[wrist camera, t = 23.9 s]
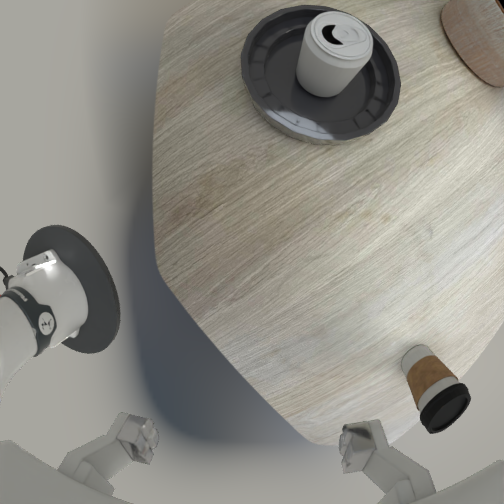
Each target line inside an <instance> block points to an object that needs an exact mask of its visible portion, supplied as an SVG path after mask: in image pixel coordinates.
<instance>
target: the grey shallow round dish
mask: <svg viewBox="0 0 504 504" xmlns="http://www.w3.org/2000/svg"><path fill="white" fill-rule="evenodd" d="M331 11H336V12H342V13H346V12H343V11H340V10H337V9H334V8H330V7H326V6H315V5H300V6H295V7H290V8H285V9H281V10H279V11H277V12H275V13H273V14H271V15H269V16H267V17H266V18H264V19H262V20H261V21H260V22H259V23H258V24H257V25H256V26H255V27H254V29H253V30H252V31H251V32H250V33H249V34H248V36H247V39H246V41H245V44H244V47H243V50H242V53H241V68H242V78H243V81H244V84H245V87H246V89H247V92H248V94H249V96H250V98H251V101H252V103H253V105H254V107H255V108H256V109H257V111H258V112H259V113H260V114H261V115H262V116H263V117H264V118H265V120H266V121H267V122H268V123H269V124H270V125H272V126H273V127H275V128H277V129H278V130H280V131H281V132H283V133H285V134H286V135H288V136H289V137H291V138H295V139H298V140H301V141H305V142H308V143H311V144H325V145H338V144H342V143H345V142H348V141H352V140H355V139H359V138H361V137H363V136H366V135H368V134H370V133H372V132H373V131H374V130H376V129H377V128H378V127H380V126H381V125H383V124H384V123H385V122H387V120H388V119H389V117H390V116H391V114H392V112H393V111H394V109H395V107H396V106H397V104H398V99H399V93H400V87H401V81H400V76H399V70H398V66H397V62H396V60H395V58H394V56H393V54H392V53H391V51H390V49H389V47H388V45H387V44H386V42H385V41H384V40H383V39H382V38H381V37H380V36H379V35H378V34H377V33H376V32H375V31H374V30H373V29H372V28H371V27H370V26H369V25H367V24H365V23H364V22H362V21H361V20H360V21H361V22H362V23H363V24H364V25H365V26H366V27H367V28H368V30H369V31H370V33H371V35H372V38H373V47H372V49H373V50H372V55H371V57H370V59H369V60H368V62H367V63H366V64H365V65H364V66H363V67H362V68H361V70H360V71H359V72H358V73H357V74H356V75H355V76H354V78H353V79H352V80H351V81H350V82H349V83H348V85H347V86H346V87H345V88H344V89H343V90H342V91H341V92H340V93H339V94H337V95H335V96H331V97H320V96H316V95H313V94H311V93H309V92H308V91H306V90H305V89H304V88H303V87H302V86H301V84H300V83H299V81H298V79H297V75H296V68H297V64H298V60H299V55H300V51H301V47H302V42H303V38H304V34H305V30H306V27H307V25H308V24H309V23H310V22H311V21H312V20H313V19H314V18H315V17H316V16H318V15H319V14H322V13H325V12H331ZM346 14H349V13H346ZM349 15H351V14H349ZM351 16H352V15H351ZM353 17H354V16H353ZM355 18H356V17H355ZM358 20H359V19H358Z"/></svg>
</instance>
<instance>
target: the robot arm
mask: <svg viewBox="0 0 504 504" xmlns="http://www.w3.org/2000/svg"><path fill="white" fill-rule="evenodd" d="M0 271H1V272H2V273H3V274H4V276H5V277H4V279H3V282H4V285H5V286H6V291H5V292H4V293H3V294H2V295H0V402H1V399H2V396H3V394H4V391H5V389H6V387H7V385H8V383H9V382H10V380H11V379H12V378H13V376H14V375H15V374H16V373H17V372H18V371H19V370H20V368H22V367H23V366H24V365H25V364H26V363H27V361H29V360H30V359H31V358H32V357H36V356H38V355H39V354H41V353H42V352H43V351H44V350H45V349H46V348H47V347H51V348H53V347H55V346H57V345H58V344H59V343H61V342H62V341H64V340H65V339H66V338H68V337H69V336H70V337H72V338H75V337H76V336H78V334H79V329H80V327H81V326H82V325H83V324H84V323H85V321H86V319H87V316H88V302H87V298H86V294H85V291H84V289H83V287H82V285H81V283H80V281H79V279H78V278H77V276H76V275H75V274H74V272H73V271H72V270H71V269H70V268H69V267H68V266H66V265H65V264H64V263H63V262H62V261H61V260H60V258H59V257H58V255H57V253H56V252H55V251H54V250H53V249H49V250H47V251H45V252H42V253H40V254H38V255H35V256H33V257H31V258H29V259H26V260H24V261H22V262H20V263H19V264H18V265H17V276H13V275H11V276H9V277H8V275H7V273H6V272H5V270H4V269H3V268H1V267H0ZM153 425H154V423H153V421H152V419H149V418H144V417H140V416H135V415H131V414H128V413H123V412H121V413H119V414H118V416H117V418H116V419H115V421H114V423H113V425H112V426H111V428H110V430H109V431H108V433H107V435H103V436H100V437H98V438H97V439H95V440H93V441H91V442H89V443H87V444H85V445H83V446H81V447H79V448H77V449H75V450H73V451H70V452H68V454H67V455H66V457H65V458H64V460H63V461H62V463H61V465H60V466H59V468H58V470H56V469H54V468H52V467H51V466H49V465H47V464H46V463H44V462H42V461H41V460H39V459H38V458H36V457H35V456H33V455H32V454H30V453H28V452H27V451H26V450H24V449H23V448H21V447H20V446H19V445H17V444H16V443H14V442H12V441H11V440H5V441H1V442H0V504H132V503H129V502H126V501H123V500H121V499H118V498H115V497H113V496H112V494H113V492H114V487H113V486H112V485H111V484H110V483H109V482H108V481H107V480H109V479H110V478H112V477H113V476H114V475H116V474H117V473H118V472H120V471H121V470H122V469H124V468H125V467H127V466H128V465H129V464H131V463H132V462H133V461H137V462H141V463H145V464H150V462H151V460H152V457H153V455H154V454H153V451H152V450H153V449H154V448H156V447H157V445H158V442H159V441H158V440H159V434H158V431H157V429H156V428H154V427H153ZM342 431H343V434H341V435H340V439H339V450H340V454H341V455H342V456H343V459H342V468H343V473H350V472H357V471H363V473H364V474H366V475H367V476H368V477H369V478H370V479H371V480H372V481H373V482H374V483H375V484H376V485H377V486H378V487H379V488H380V489H381V490H382V491H383V492H385V493H386V495H385V496H384V497H383V498H382V499H381V500H380V501H379V502H378V504H504V461H503V460H498V461H496V462H494V463H493V464H491V465H489V466H488V467H486V468H484V469H483V470H481V471H479V472H477V473H476V474H474V475H472V476H470V477H468V478H466V479H464V480H462V481H460V482H458V483H456V484H454V485H452V486H450V487H448V488H446V489H444V490H441V491H439V492H437V493H436V490H435V487H434V484H433V481H432V478H431V476H430V473H429V471H428V470H427V469H425V468H424V467H422V466H420V465H419V464H418V463H416V462H415V461H413V460H412V459H410V458H409V457H407V456H405V455H404V454H403V453H401V452H400V451H398V450H397V449H395V448H394V447H389V445H388V442H387V439H386V436H385V433H384V430H383V427H382V425H381V422H380V420H379V419H375V420H371V421H363V422H358V423H352V424H345V425H344V426H343V429H342Z"/></svg>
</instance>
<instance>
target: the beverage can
mask: <svg viewBox="0 0 504 504" xmlns="http://www.w3.org/2000/svg"><path fill="white" fill-rule="evenodd" d="M372 47H373V38H372V35H371V33H370V31H369V30H368V28H367V27H366V26H365V25H364V24H363V23H362V22H361V21H360V20H358V19H357V18H355V17H353V16H351V15H349V14H346V13H342V12H336V11H331V12H325V13H322V14H319V15H318V16H316V17H315V18H314V19H313V20H312V21H311V22H310V23H309V24H308V25H307V27H306V30H305V34H304V38H303V42H302V47H301V51H300V55H299V60H298V64H297V68H296V75H297V79H298V81H299V83H300V84H301V86H302V87H303V88H304V89H305V90H306V91H308V92H309V93H311V94H313V95H316V96H320V97H331V96H335V95H337V94H339V93H340V92H341V91H342V90H343V89H344V88H345V87H346V86H347V85H348V83H349V82H350V81H351V80H352V79H353V78H354V76H355V75H356V74H357V73H358V72H359V71H360V70H361V68H362V67H363V66H364V65H365V64H366V63H367V62H368V60H369V59H370V57H371V55H372V50H373V49H372Z"/></svg>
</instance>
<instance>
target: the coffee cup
mask: <svg viewBox="0 0 504 504" xmlns="http://www.w3.org/2000/svg"><path fill="white" fill-rule="evenodd" d="M401 367H402V370H403V372H404V374H405V376H406V379H407V382H408V385H409V387H410V390H411V393H412V395H413V398H414V401H415V404H416V406H417V409H418V410H419V411H420V413H421V414H420V420H421V423H422V425H424V426H425V428H426V429H427V431H428V432H429V433H430V434H433V433H438V432H441V431H443V430H445V429H446V428H448V427H449V426H450V425H452V423H454V422H455V421H456V420H457V419H458V418H459V417H460V416H461V415H462V414H463V412H464V411H465V410H466V408H467V407H468V405H469V403H470V400H471V397H470V394H469V392H468V388H467V387H466V386H465V384H463V383H459V381H458V378H457V377H456V376H455V375H454V374H453V373H452V372H451V371H450V370H449V369H448V368H447V367H446V366H445V365H444V364H443V363H442V362H441V361H440V360H439V359H438V358H437V357H436V356H435V355H434V354H433V353H432V351H431V350H430V349H429V348H428V347H427V346H424V345H419V346H416V347H414V348H412V349H411V350H409V351H408V352H407V353H406V354H405V356H404V357H403V359H402V362H401Z"/></svg>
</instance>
